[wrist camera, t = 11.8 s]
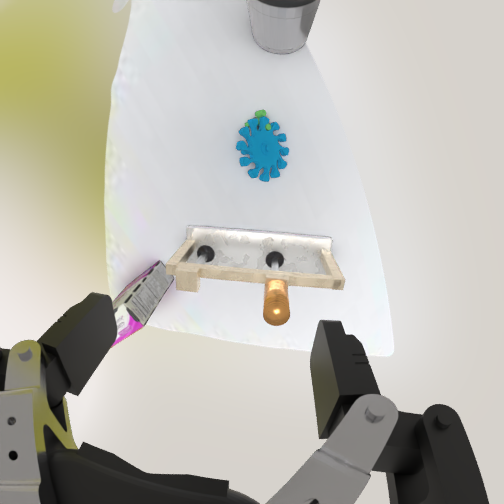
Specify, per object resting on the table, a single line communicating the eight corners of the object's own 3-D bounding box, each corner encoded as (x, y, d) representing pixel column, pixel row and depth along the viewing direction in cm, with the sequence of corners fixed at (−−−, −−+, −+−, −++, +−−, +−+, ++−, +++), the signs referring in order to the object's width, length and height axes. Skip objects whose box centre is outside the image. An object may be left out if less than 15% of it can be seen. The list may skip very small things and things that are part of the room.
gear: (291, 182, 43) (242, 180, 37) (265, 182, 48) (217, 181, 41) (291, 115, 41) (242, 103, 34) (265, 121, 45) (218, 112, 39)
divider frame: (188, 225, 49) (160, 253, 36) (331, 237, 48) (351, 270, 35) (189, 271, 52) (165, 310, 39) (322, 283, 51) (337, 326, 38)
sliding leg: (267, 246, 47) (264, 301, 30) (285, 248, 47) (291, 304, 30) (265, 264, 48) (262, 325, 32) (282, 266, 48) (287, 327, 31)
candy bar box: (141, 304, 55) (106, 352, 40) (125, 286, 54) (85, 330, 39) (176, 278, 53) (144, 328, 37) (160, 258, 51) (121, 302, 36)
